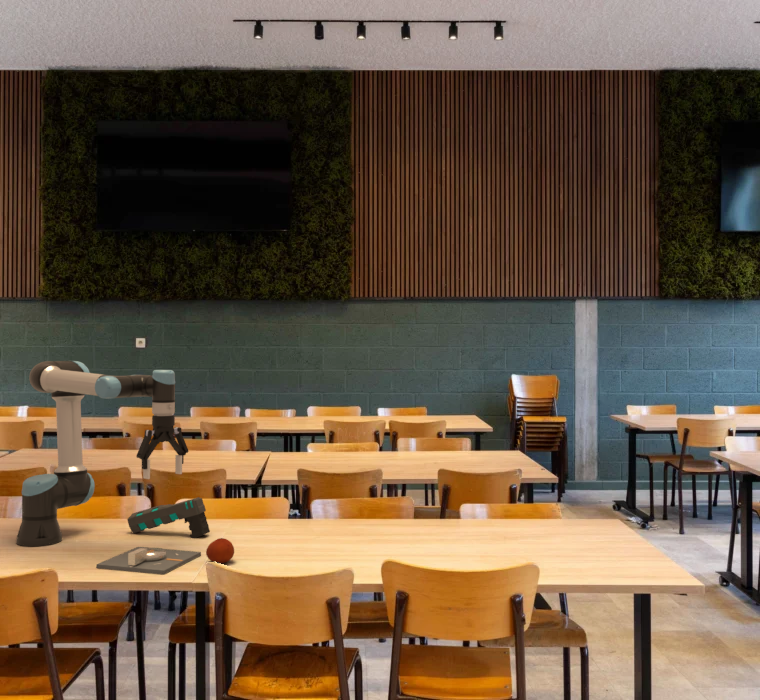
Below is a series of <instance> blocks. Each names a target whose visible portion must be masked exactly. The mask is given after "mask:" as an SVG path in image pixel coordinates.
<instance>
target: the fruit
mask: <svg viewBox="0 0 760 700" xmlns="http://www.w3.org/2000/svg"><path fill="white" fill-rule="evenodd" d="M205 552H206V554H205V555H206V557H207V559H208V560H210V561H211V562H212V561H216V562H219V563H218V564H226V563H228V562H229V561H231V560H232V559H233V557H234V554H235V547H234V544H233V543H232V542H231V541H230V540H229V539H227V538H222V537H220V538H217V539H215V540H213V541H211V542H210V543H209V544H208V546H207V547H206V550H205Z"/></svg>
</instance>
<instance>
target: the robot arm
mask: <svg viewBox="0 0 760 700" xmlns="http://www.w3.org/2000/svg"><path fill="white" fill-rule="evenodd" d="M28 378H29V383H30V385H31V387H32V388H33V389H34V390H36V391H37V392H38V393H39V392H40V393H43V394H44V393H45V394H50V395H51V398H52V400H54V401H55V408H56V409H55V412H56V434H57V435H56V441H57V467H56V468H55V470H54V471H53V473H44V474H37V475H36V474H35V475H31V476H30V477H28V478H26V479H24V480H23V482H22V487H21V488H22V489H21V499H22V500H21V523H20V526H19V529H18V533H17V535H16V537H15V538H16V541H15V542H16V544H17V545H19V546H22V547H41V546H49V545H54V544H57V543H60V542H62V541H63V533H62V531H61V527H60V525H59V521H58V510H59V509H63V508H65V509H66V508H68V507H73V506H75V507H77V506H80V505H82V504H86V503H87V502H89V500H90V499H91V498H92V497H93V495H94V492H95V485H96V484H95V481H94V478H93V475H92V474H91V473H89V472H88V467H86V466H85V465H84V464H83V439H82V438H83V434H82V433H83V432H82V407H81V406H82V405H81V401H82V400H83V399H84V397H85V395H87V396H89V395H90V396H95V397H99V398H100V399H107V400H112V399H120V398H122V399H123V398H138V397H145V398H146V397H149V398H152V399H151V401H152V403H151V404H152V405H151V413H152V416H151V426H152V429H151V430H150V429H144V437H143V439H142V440H141V443H140V445H139V448H138V451H137V453H136V458H137V459H140V460H141V469H142V474H143V475H142V478H143V479H145V480H150V479H151V459H149V458H150V457H151V455H152V453H153V452H154V450H155V449H156V447H157V445H159V444H160V443H165V442H167V443H169V445H170V446H171V447H172V449H173V450H174V451H175V453H176V454H175V457H174V458H175V468H174V469H175V472H174V473H175V474H176V475H182V474H183V465H184V457H185V456H186V455H187V454H188V453H189V448H188V445H187V443H186V440H185V438H184V436H183V433H182V427H180V426H179V427H174V426H175V424H176V423H175V420H176V419H175V418H176V417H175V415H174V414H175V413H176V412H175V411H176V410H175V409H176V407H175V405H176V404H175V403H176V401H175V399H176V397H175V395H176V393H175V392H176V374H175V371H174V370H172V369H154V370H153V371H152V374H151V375H149V374H131V375H113V374H111V375H110V374H101V373H95V372H94V373H93V372H90V369H89V368H88V367H87V366H86V364H85V363H83V362H81V361H77V360H53V361H52V360H45V361H41V362H39V363H37V364H36V365H34V366H33V368H32V369H31V370H30V372H29V376H28Z"/></svg>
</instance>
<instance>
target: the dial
mask: <svg viewBox="0 0 760 700" xmlns="http://www.w3.org/2000/svg"><path fill="white" fill-rule="evenodd" d="M165 549H166V548H161V547H148V548H139V549H137V550H135V551H133V552H130V553H128V565H137V564H139V563H141V562H151V561H159V560H162V559H165V558H166V550H165Z"/></svg>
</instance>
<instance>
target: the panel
mask: <svg viewBox="0 0 760 700" xmlns="http://www.w3.org/2000/svg"><path fill="white" fill-rule="evenodd" d="M139 548H149V547H146V546H136V547H134V548H132V549H129V550H126V551H124V552H122V553H120V554H117V555H116V556H113V557H110V558H108V559H106V560H104V561H101V562H99V563H96V569H102V570H103V569H104V570H111V571H124V572H133V573H134V572H135V573H145V574H154V575H155V574H156V575H166V574H167V573H169V572H171V571H173V570H175V569H177V568H179V567H181V566H183V565H185V564H187V563H189V562H191V561H194V560H195V559H196V558H198V557H202V556H201V555H202V552H201V551H196V550H195V551H194V550H180V549H171V548H169V549H168V548H164V549H165V550H166V558H165V559H162V560H159V561H151V562H141V563H139V564H137V565H128V553H130V552H133V551H135V550H137V549H139Z"/></svg>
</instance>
